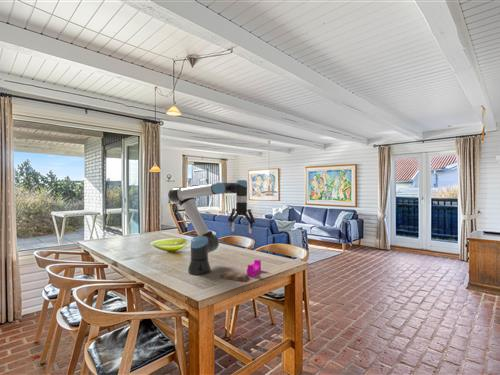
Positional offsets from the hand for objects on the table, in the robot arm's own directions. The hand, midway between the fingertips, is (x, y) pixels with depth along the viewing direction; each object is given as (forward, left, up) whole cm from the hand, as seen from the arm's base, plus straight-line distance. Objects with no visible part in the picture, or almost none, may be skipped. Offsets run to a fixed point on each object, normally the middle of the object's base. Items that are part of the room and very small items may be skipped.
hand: (241, 232), depth 193 cm
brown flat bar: (+3, -17, -27) cm, 32 cm away
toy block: (+10, -3, -27) cm, 29 cm away
